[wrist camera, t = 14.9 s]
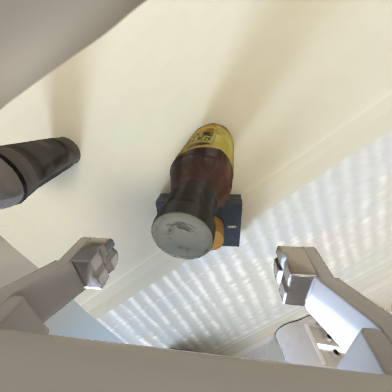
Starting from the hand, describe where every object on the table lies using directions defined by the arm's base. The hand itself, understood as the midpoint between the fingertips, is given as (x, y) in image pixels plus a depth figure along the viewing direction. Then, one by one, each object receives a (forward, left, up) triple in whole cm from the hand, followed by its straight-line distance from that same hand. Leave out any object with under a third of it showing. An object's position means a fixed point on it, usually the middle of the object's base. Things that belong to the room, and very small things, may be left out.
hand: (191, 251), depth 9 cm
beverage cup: (+24, 0, -22) cm, 33 cm away
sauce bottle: (0, 0, -22) cm, 22 cm away
